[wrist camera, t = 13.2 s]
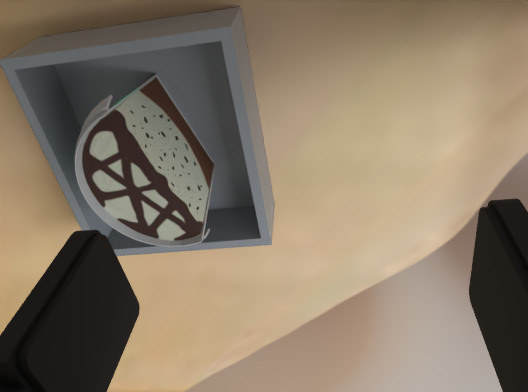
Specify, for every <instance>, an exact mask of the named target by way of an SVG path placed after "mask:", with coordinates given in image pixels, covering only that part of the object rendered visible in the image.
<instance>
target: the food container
mask: <svg viewBox="0 0 528 392" xmlns="http://www.w3.org/2000/svg"><path fill="white" fill-rule="evenodd" d="M112 97H113V96H112V95H109V96H108V97H106V98H105V99H104V100H102V101H101V102H100V103H99V104H98V105H97V106H96V107H95V108H94V109H93V110H92V111H91V112H90V114H89V116H88V117H87V119H86V120H85V122H84V125H83V127H82V130H81V133H80V135H79V138H78V140H77V143H76V149H75V173H76V177H77V182H78V185H79V187H80V190H81V192H82V194H83V196H84V198H85V199H86V201H87V203H88V204H89V205H90V207H91V208H92V209H93V210H94V212H95V213H96V214H97V215H98V216H99V217H100V218H101V219H102V220H103V221H105V222H106V223H107V224H108V225H110V226H111V227H112V228H114V229H115V230H117V231H119V232H120V233H122V234H124V235H126V236H128V237H130V238H132V239H135V240H138V241H141V242H144V243H147V244H151V245H156V246H165V247H182V246H189V245H194V244H197V243H201V242H202V240H203V239H206V237H207V235H208V233H209V231H210V229H209V228H208V229H205V225H206V220H207V214H208V208H209V202H210V196H211V190H212V184H213V179H214V173H215V167H216V162H215V161H214V159H213V158H212V156H211V155H210V153H209V152H208V150H207V149H206V147H205V145H204V144H203V142H202V141H201V139H200V138H199V136H198V135H197V133H196V132H195V130H194V129H193V127H192V126H191V124H190V123H189V121H188V120H187V118H186V117H185V115H184V114H183V112H182V110H181V109H180V107H179V106H178V104H177V103H176V101H175V100H174V98H173V97H172V95H171V94H170V92H169V91H168V89H167V88H166V86H165V85H164V83H163V82H162V80H161V78H160V77H159V75H158V74H157V73H156V74H155V75H153V76H152V77H150V78H149V79H147V80H146V81H145V82H143V83H142V84H141V85H139V86H138V87H137V88H135V89H134V90H133V91H131V92H130V93H129V94H128V95H126V96H125V97H124V98H122V99H121V100H120V101H118V102H117V103H116V104H114V105H113V106H112V107H110V108H108V107H109V104H110V102H111V99H112Z"/></svg>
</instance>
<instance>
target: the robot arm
mask: <svg viewBox="0 0 528 392" xmlns="http://www.w3.org/2000/svg"><path fill="white" fill-rule="evenodd" d="M469 295H470V302H471V305H472V308H473V310H474V313H475V316H476V319H477V321H478V324H479V327H480V330H481V332H482V335H483V338H484V341H485V344H486V346H487V349H488V352H489V355H490V357H491V360H492V363H493V366H494V368H495V371H496V374H497V377H498V379H499V382H500V385H501V388H502V390H503V392H528V212H527V210H526V209H525V207H524V206H523V204H522V203H521V202H520V200H519V199H505V200H491V201H490V202H489V203H488V206H487V207H482V208H480V211H479V217H478V224H477V232H476V240H475V248H474V256H473V263H472V271H471V278H470V286H469ZM138 315H139V302H138V300H137V298H136V296H135V294H134V292H133V290H132V287H131V285H130V283H129V281H128V279H127V277H126V275H125V273H124V271H123V269H122V267H121V265H120V263H119V260H118V258H117V256H116V254H115V252H114V250H113V248H112V246H111V244H110V242H109V240H108V238H107V236H105V235H103V234H101V232H100V231H98V230H83V231H76V232H74V233H73V234H72V235H71V236H70V238H69V239H68V240H67V242H66V243H65V245H64V246H63V247H62V249H61V250H60V252H59V253H58V255H57V256H56V257H55V259H54V260H53V262H52V263H51V264H50V266H49V267H48V269H47V270H46V272H45V273H44V274H43V276H42V277H41V279H40V280H39V281H38V283H37V284H36V286H35V287H34V288H33V290H32V291H31V293H30V294H29V296H28V297H27V298H26V300H25V301H24V303H23V304H22V305H21V307H20V308H19V310H18V311H17V313H16V314H15V315H14V317H13V318H12V320H11V321H10V322H9V324H8V325H7V327H6V328H5V330H4V331H3V332H2V334H1V335H0V392H107V389H108V387H109V385H110V382H111V380H112V377H113V375H114V373H115V370H116V368H117V365H118V363H119V361H120V358H121V356H122V353H123V351H124V349H125V346H126V344H127V342H128V339H129V337H130V334H131V332H132V330H133V327H134V325H135V322H136V320H137V318H138Z"/></svg>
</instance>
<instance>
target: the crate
mask: <svg viewBox="0 0 528 392" xmlns="http://www.w3.org/2000/svg"><path fill="white" fill-rule="evenodd" d="M0 65H1V67H2V69H3V71H4V73H5V75H6V77H7V79H8V81H9V83H10V85H11V87H12V89H13V91H14V93H15V95H16V97H17V99H18V101H19V103H20V105H21V107H22V109H23V112H24V114H25V116H26V118H27V120H28V122H29V124H30V126H31V128H32V130H33V132H34V134H35V136H36V138H37V140H38V142H39V144H40V146H41V148H42V150H43V152H44V154H45V156H46V158H47V160H48V162H49V164H50V166H51V168H52V170H53V172H54V174H55V176H56V179H57V181H58V183H59V185H60V187H61V189H62V191H63V193H64V195H65V197H66V199H67V201H68V203H69V205H70V207H71V209H72V211H73V213H74V215H75V217H76V219H77V221H78V223H79V225H80V227H81V229H82V231H83V230H98V231H100V232H101V234H103V235H105V236H107V238H108V240H109V242H110V244H111V246H112V248H113V250H114V252H115V254H116V256H125V255H138V254H152V253H166V252H179V251H193V250H206V249H220V248H234V247H247V246H261V245H272V232H273V219H274V206H275V204H274V198H273V193H272V187H271V181H270V175H269V169H268V163H267V157H266V152H265V146H264V140H263V134H262V128H261V122H260V117H259V111H258V105H257V99H256V93H255V87H254V81H253V76H252V70H251V64H250V58H249V52H248V46H247V41H246V35H245V29H244V23H243V17H242V11H241V7H234V8H228V9H221V10H214V11H208V12H201V13H195V14H188V15H181V16H175V17H168V18H161V19H155V20H148V21H142V22H135V23H128V24H122V25H115V26H109V27H102V28H95V29H89V30H82V31H76V32H69V33H62V34H56V35H49V36H42V37H39V38H37V39H35V40H33V41H32V42H30V43H28V44H26V45H25V46H23V47H21V48H19V49H17V50H16V51H14V52H12V53H10V54H9V55H7V56H5V57H3V58H1V59H0ZM156 73H157V74H158V75H159V77H160V78H161V80H162V82H163V83H164V85H165V86H166V88H167V89H168V91H169V92H170V94H171V95H172V97H173V98H174V100H175V101H176V103H177V104H178V106H179V107H180V109H181V110H182V112H183V114H184V115H185V117H186V118H187V120H188V121H189V123H190V124H191V126H192V127H193V129H194V130H195V132H196V133H197V135H198V136H199V138H200V139H201V141H202V142H203V144H204V145H205V147H206V149H207V150H208V152H209V153H210V155H211V156H212V158H213V159H214V161H215V162H216V167H215V173H214V179H213V184H212V190H211V196H210V202H209V208H208V214H207V220H206V225H205V229H208V228H209V229H210V231H209V233H208V235H207V237H206V239H203V240H202V242H201V243H197V244H194V245H189V246H182V247H165V246H156V245H151V244H147V243H144V242H141V241H138V240H135V239H132V238H130V237H128V236H126V235H124V234H122V233H120V232H119V231H117V230H115V229H114V228H112V227H111V226H110V225H108V224H107V223H106V222H105V221H103V220H102V219H101V218H100V217H99V216H98V215H97V214H96V213H95V212H94V210H93V209H92V208H91V207H90V205H89V204H88V203H87V201H86V199H85V198H84V196H83V194H82V192H81V190H80V187H79V185H78V182H77V177H76V173H75V149H76V143H77V140H78V138H79V135H80V133H81V130H82V127H83V125H84V122H85V120H86V119H87V117H88V116H89V114H90V112H91V111H92V110H93V109H94V108H95V107H96V106H97V105H98V104H99V103H100V102H101V101H102V100H104V99H105V98H106V97H108V96H109V95H112V96H113V97H112V99H111V102H110V104H109V107H108V108H110V107H112V106H113V105H114V104H116V103H117V102H118V101H120V100H121V99H122V98H124V97H125V96H126V95H128V94H129V93H130V92H131V91H133V90H134V89H135V88H137V87H138V86H139V85H141V84H142V83H143V82H145V81H146V80H147V79H149V78H150V77H152V76H153V75H155V74H156Z"/></svg>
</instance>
